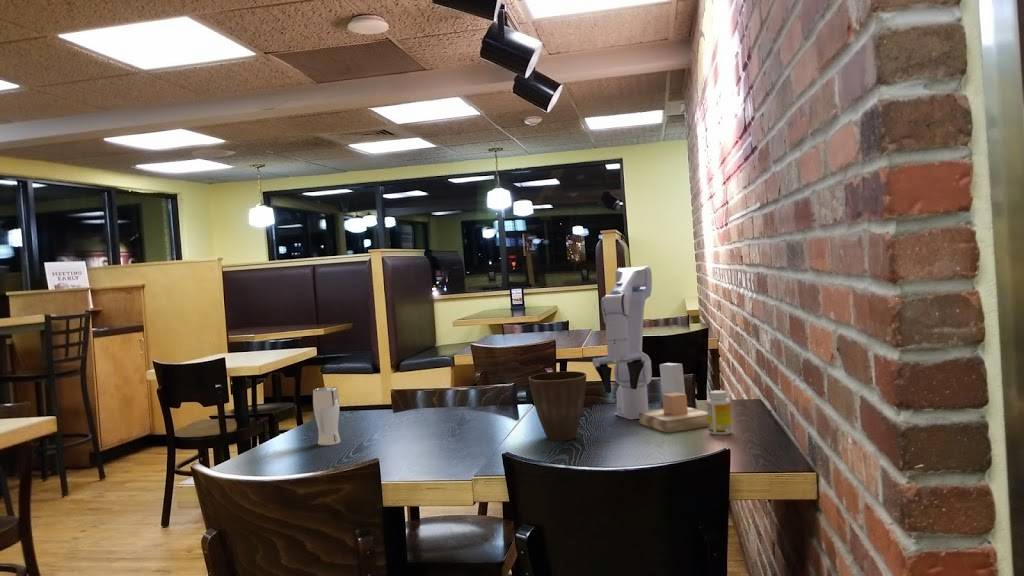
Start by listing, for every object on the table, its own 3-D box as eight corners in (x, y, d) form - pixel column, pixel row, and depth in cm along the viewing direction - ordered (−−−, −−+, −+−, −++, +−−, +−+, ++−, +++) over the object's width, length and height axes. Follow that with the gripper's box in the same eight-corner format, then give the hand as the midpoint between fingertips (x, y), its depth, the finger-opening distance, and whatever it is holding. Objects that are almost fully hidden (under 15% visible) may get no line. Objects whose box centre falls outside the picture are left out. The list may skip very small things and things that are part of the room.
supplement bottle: (736, 432, 175) (734, 390, 175) (723, 436, 171) (720, 394, 171) (717, 429, 179) (714, 389, 179) (704, 433, 176) (701, 392, 176)
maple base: (639, 423, 193) (638, 412, 193) (683, 416, 197) (683, 405, 197) (667, 432, 180) (667, 420, 179) (714, 425, 184) (713, 413, 184)
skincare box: (686, 403, 217) (684, 363, 217) (676, 405, 215) (673, 365, 214) (672, 400, 222) (669, 362, 222) (661, 403, 220) (658, 363, 220)
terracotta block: (663, 412, 190) (662, 394, 190) (678, 410, 191) (676, 392, 191) (672, 415, 185) (671, 396, 185) (687, 413, 187) (686, 394, 187)
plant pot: (601, 438, 178) (596, 375, 178) (546, 447, 173) (541, 382, 173) (575, 428, 192) (571, 369, 192) (524, 436, 187) (519, 375, 187)
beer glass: (319, 447, 191) (315, 392, 191) (313, 443, 198) (309, 389, 197) (345, 443, 195) (340, 388, 194) (338, 438, 201) (334, 386, 201)
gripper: (599, 343, 182) (603, 395, 182) (649, 337, 187) (652, 389, 187) (587, 341, 189) (591, 392, 189) (635, 336, 194) (639, 386, 194)
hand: (621, 390), depth 189 cm, fingers open, 7 cm apart
